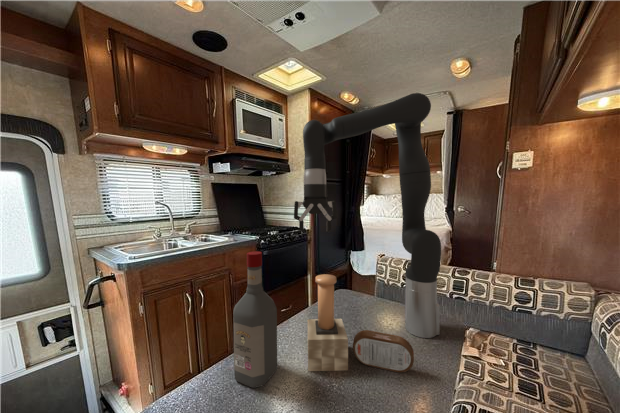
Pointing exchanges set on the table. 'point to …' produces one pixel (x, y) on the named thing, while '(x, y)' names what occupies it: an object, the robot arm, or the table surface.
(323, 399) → the table surface
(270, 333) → the liquor
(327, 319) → the flanged tan peg
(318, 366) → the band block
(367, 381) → the table surface
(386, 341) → the tin
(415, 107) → the robot arm
